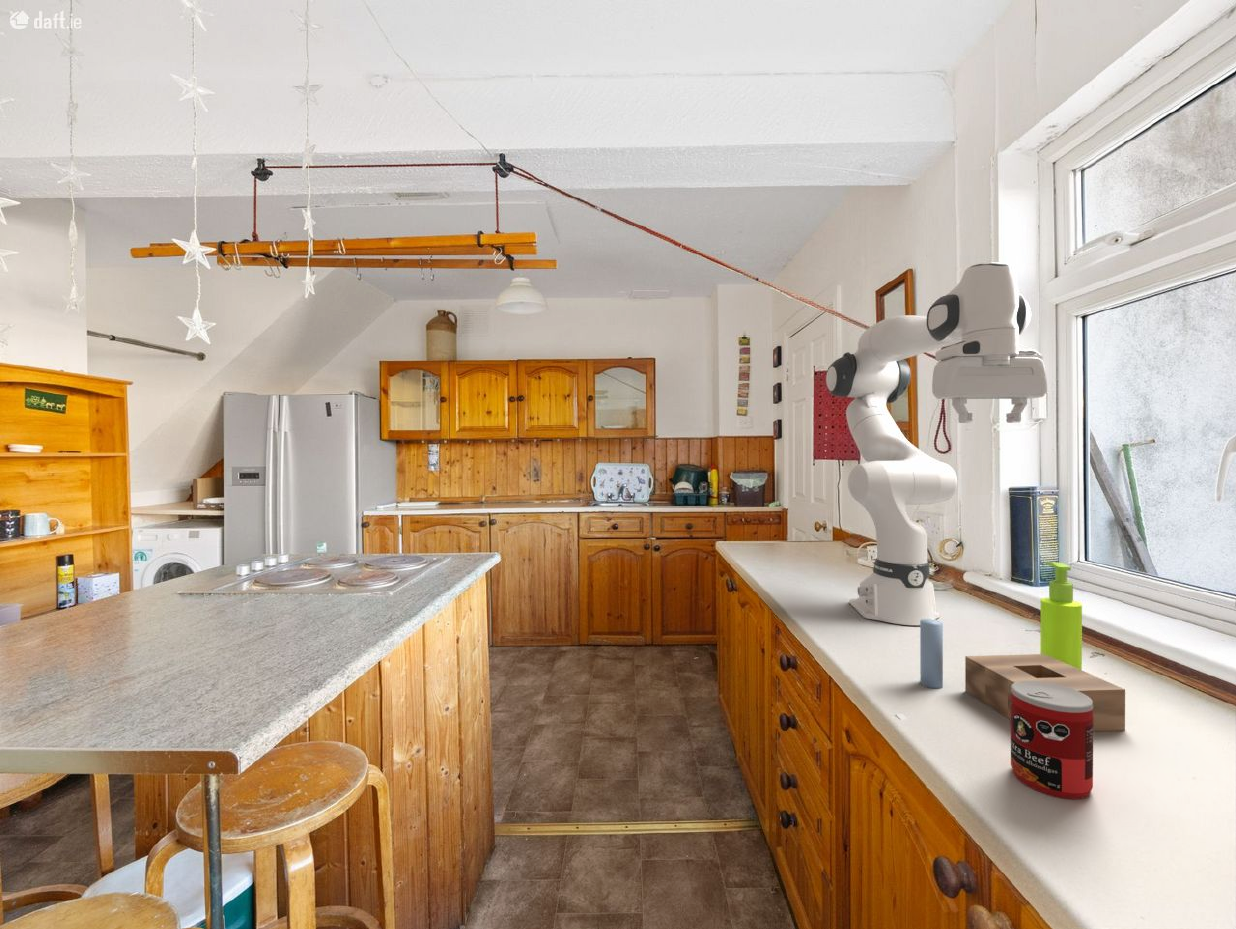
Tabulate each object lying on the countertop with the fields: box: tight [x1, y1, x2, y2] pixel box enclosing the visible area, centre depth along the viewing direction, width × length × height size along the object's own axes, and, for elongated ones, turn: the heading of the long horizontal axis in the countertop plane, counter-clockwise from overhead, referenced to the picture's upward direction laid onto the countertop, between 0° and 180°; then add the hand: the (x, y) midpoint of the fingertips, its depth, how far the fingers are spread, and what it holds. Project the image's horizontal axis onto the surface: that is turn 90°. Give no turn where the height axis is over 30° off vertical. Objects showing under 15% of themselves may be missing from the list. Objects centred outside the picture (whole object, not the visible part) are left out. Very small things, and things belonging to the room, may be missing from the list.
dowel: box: [919, 619, 944, 690], centre depth 94 cm, size 3×3×11 cm
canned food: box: [1010, 681, 1094, 800], centre depth 66 cm, size 8×8×11 cm
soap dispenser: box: [1039, 561, 1083, 671], centre depth 99 cm, size 6×7×20 cm
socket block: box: [964, 653, 1126, 732], centre depth 85 cm, size 14×14×6 cm
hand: (989, 422), depth 101 cm, fingers open, 8 cm apart
